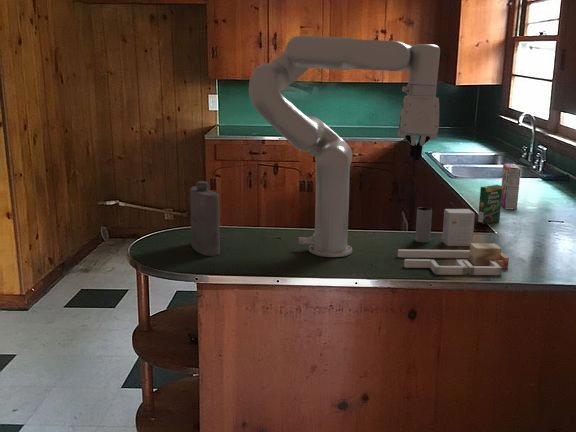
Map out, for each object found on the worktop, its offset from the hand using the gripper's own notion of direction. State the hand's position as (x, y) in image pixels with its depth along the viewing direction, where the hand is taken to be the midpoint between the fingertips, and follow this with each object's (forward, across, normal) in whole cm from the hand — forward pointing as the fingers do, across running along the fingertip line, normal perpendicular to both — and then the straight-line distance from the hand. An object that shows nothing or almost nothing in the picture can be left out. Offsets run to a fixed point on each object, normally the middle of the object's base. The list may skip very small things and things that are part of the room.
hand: (415, 159), depth 170 cm
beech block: (+28, +21, -5) cm, 35 cm away
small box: (+28, +19, +14) cm, 36 cm away
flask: (+30, -58, +4) cm, 66 cm away
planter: (+28, +9, +17) cm, 34 cm away
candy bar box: (+27, +54, +70) cm, 92 cm away
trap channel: (+28, +12, -8) cm, 31 cm away
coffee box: (+27, +38, +43) cm, 63 cm away
